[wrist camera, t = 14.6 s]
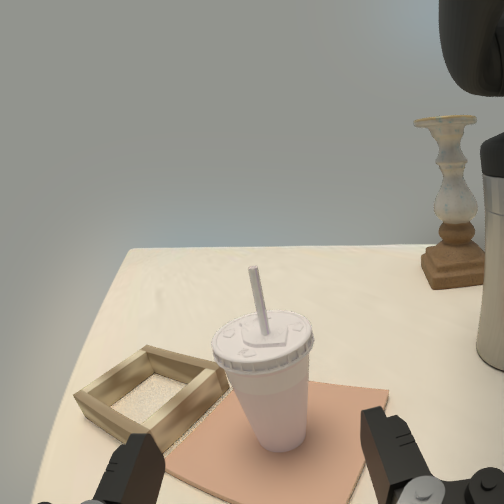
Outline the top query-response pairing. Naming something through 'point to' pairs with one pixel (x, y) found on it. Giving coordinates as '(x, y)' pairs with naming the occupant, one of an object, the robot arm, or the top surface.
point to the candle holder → (452, 211)
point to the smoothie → (268, 369)
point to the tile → (284, 463)
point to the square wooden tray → (169, 415)
